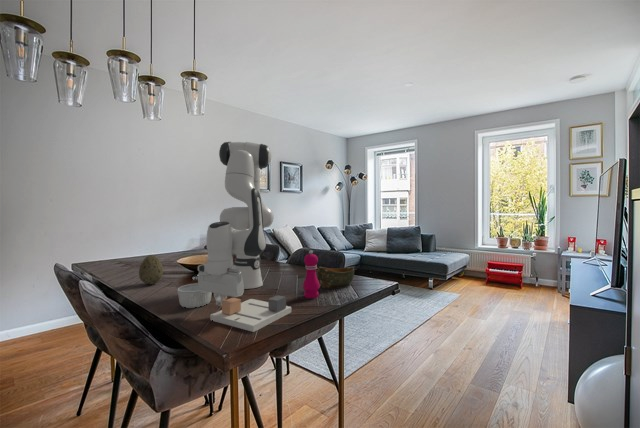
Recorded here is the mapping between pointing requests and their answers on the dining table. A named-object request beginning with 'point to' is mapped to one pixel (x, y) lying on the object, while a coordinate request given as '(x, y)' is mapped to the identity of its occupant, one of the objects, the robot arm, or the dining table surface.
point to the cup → (335, 277)
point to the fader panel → (250, 315)
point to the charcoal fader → (277, 303)
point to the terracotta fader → (231, 306)
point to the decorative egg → (150, 270)
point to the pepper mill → (311, 276)
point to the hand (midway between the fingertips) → (220, 305)
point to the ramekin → (193, 296)
